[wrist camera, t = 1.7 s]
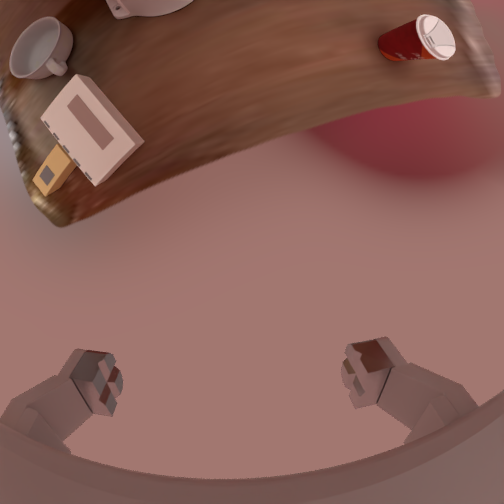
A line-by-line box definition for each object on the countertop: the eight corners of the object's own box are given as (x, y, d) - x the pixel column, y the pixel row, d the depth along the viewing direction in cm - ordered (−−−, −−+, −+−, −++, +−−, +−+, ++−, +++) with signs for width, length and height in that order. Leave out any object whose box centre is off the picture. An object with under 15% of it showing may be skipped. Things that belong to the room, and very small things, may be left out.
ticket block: (56, 116, 32) (39, 118, 27) (89, 77, 30) (75, 73, 26) (107, 179, 39) (94, 186, 34) (144, 141, 37) (135, 144, 32)
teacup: (28, 56, 24) (3, 52, 17) (69, 16, 23) (48, 4, 16) (51, 104, 31) (25, 104, 24) (96, 61, 29) (74, 53, 22)
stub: (47, 173, 36) (31, 180, 31) (71, 140, 34) (56, 144, 30) (59, 188, 38) (44, 196, 33) (84, 156, 36) (69, 161, 32)
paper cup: (388, 72, 35) (441, 66, 22) (365, 37, 31) (412, 18, 19) (413, 58, 33) (464, 52, 21) (391, 24, 30) (439, 9, 17)
